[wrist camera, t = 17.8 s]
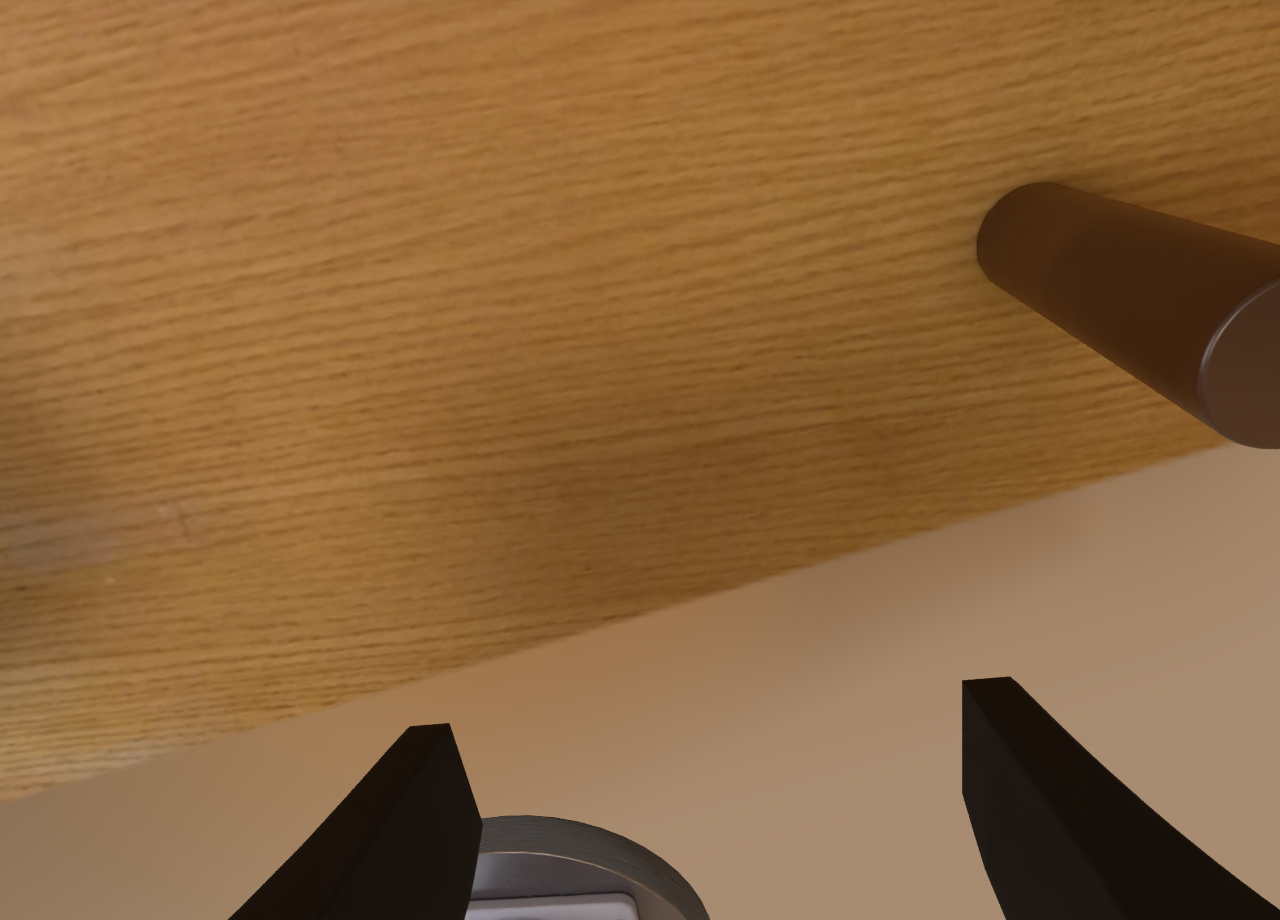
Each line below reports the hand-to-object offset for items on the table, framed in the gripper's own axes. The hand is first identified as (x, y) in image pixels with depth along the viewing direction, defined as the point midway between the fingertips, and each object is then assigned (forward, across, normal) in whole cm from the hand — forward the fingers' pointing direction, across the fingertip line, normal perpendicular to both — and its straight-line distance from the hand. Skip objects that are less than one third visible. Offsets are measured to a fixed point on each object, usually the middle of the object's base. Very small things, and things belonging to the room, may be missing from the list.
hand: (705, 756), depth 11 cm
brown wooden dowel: (+10, -8, -4) cm, 14 cm away
